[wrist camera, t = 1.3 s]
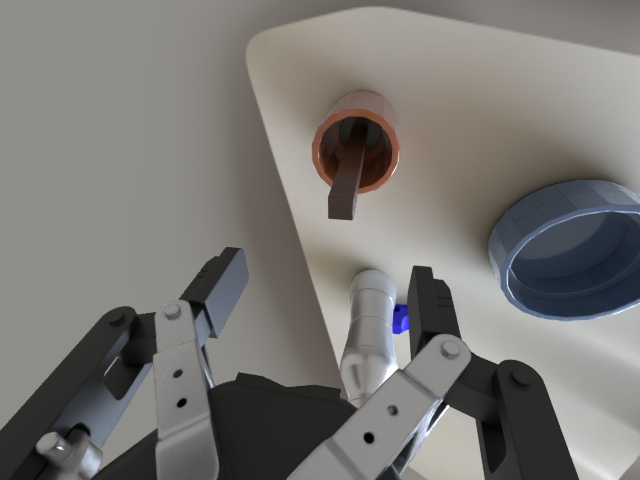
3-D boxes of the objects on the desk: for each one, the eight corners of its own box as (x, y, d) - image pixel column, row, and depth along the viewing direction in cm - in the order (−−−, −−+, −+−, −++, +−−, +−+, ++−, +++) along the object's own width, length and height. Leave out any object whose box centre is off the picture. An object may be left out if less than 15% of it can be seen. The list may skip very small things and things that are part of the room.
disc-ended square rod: (340, 108, 32) (304, 174, 18) (383, 108, 31) (379, 178, 18) (340, 149, 34) (308, 235, 21) (379, 151, 34) (373, 240, 20)
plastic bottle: (378, 256, 43) (372, 398, 27) (404, 287, 45) (413, 433, 29) (342, 274, 46) (318, 411, 30) (368, 302, 48) (359, 442, 32)
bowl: (510, 173, 33) (530, 199, 28) (676, 181, 31) (730, 211, 26) (472, 278, 42) (483, 312, 37) (599, 291, 40) (628, 328, 35)
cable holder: (388, 318, 50) (388, 339, 46) (390, 303, 48) (390, 324, 44) (440, 323, 48) (444, 345, 45) (444, 308, 46) (448, 330, 43)
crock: (326, 90, 32) (310, 108, 25) (401, 90, 30) (404, 109, 24) (327, 161, 36) (313, 191, 30) (392, 164, 35) (393, 196, 28)
